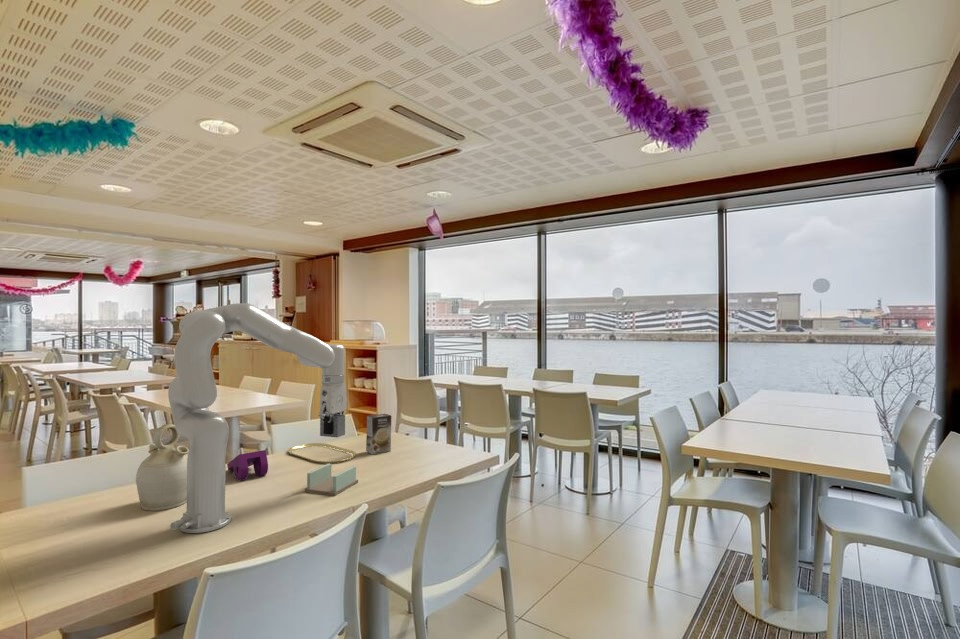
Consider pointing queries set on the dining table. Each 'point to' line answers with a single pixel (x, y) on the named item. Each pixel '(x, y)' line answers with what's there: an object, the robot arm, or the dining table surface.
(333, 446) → the gold oval ring
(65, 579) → the dining table surface
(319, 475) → the post slot
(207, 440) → the robot arm
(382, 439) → the coffee box
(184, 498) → the jug
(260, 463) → the mounting bracket
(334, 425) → the tall grey upright block
